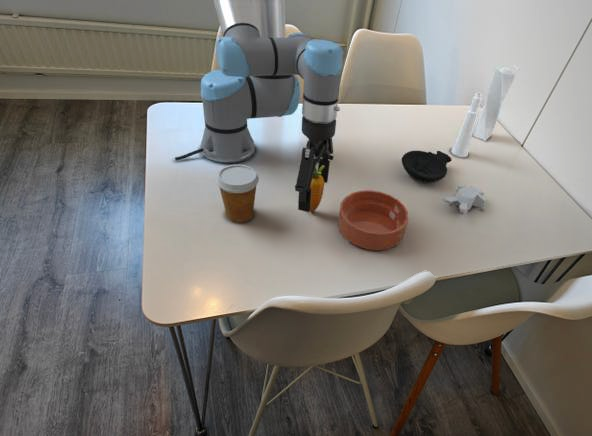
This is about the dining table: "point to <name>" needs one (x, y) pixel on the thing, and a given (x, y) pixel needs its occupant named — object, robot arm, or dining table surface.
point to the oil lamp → (426, 165)
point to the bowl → (372, 219)
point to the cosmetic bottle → (467, 128)
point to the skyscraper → (494, 101)
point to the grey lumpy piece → (467, 198)
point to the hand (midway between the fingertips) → (313, 195)
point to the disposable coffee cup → (238, 191)
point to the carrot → (316, 189)
